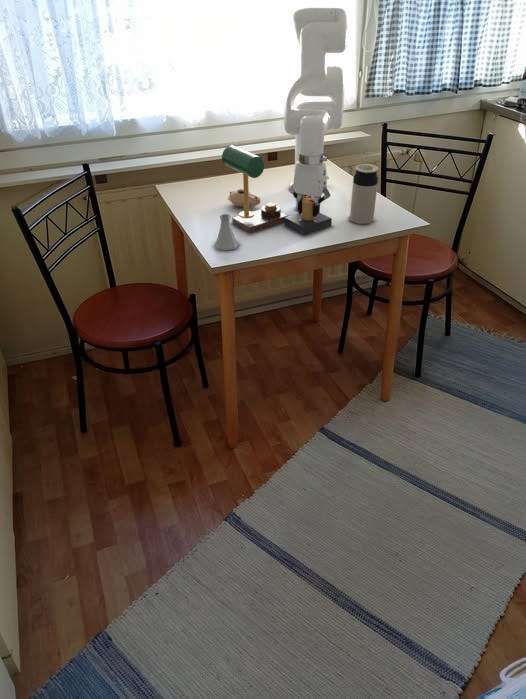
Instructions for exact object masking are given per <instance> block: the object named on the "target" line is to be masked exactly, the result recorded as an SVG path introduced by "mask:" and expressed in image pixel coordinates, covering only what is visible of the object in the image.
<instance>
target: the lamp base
mask: <svg viewBox="0 0 526 699" xmlns="http://www.w3.org/2000/svg"><path fill="white" fill-rule="evenodd" d="M281 210H282V209H281V207H280V205H277V204H276V210H274V211H268V210H266V209H265V205H262V207H260V209H257V210H254V211H252V212H253V213H254V217H252V218H241V217H240V216H239V215H236V216H233V217H232V218H231V221H232V222H231V223H232V225H234V226H236V227H237V228H239V229H241V230H243V231H245V232H246V233H248V234H252V233H256V232H259V231H261V230H265V229H269V228H272V227H275V226H278V225H281V224H285V217H288V216H289V215H288V214H285V213H284V212H282V211H281Z"/></svg>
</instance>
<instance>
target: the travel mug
mask: <svg viewBox="0 0 526 699" xmlns="http://www.w3.org/2000/svg"><path fill="white" fill-rule="evenodd" d="M354 169H355V174H354V175H353V179H352V189H351V190H352V191H351V200H350V212H349V221H351V222H352V223H354V224H357V225H368V224H370V223H372V222H374V219H375V218H374V217H375V209H376V200H377V192H378V183H379V176H378V171H379V167H378V166H377V165H374V164H372V163H371V164H370V163H361V164H357V165H355V167H354Z"/></svg>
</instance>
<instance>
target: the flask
mask: <svg viewBox="0 0 526 699" xmlns="http://www.w3.org/2000/svg"><path fill="white" fill-rule="evenodd" d="M230 218H231V215H230V214H229V213H223V214H220V215H219V219H220V227H219V231H218V234H217V237H216V240H215V243H214V247H215V248H216V249H217V250H218V251H219V250H220V251H221V250H222V251H230V250H235V249H237V247H238V245H239V244H238V242H237V238H236V237H235V235H234V232H233V230H232V226H231V223H230V222H231V221H230Z"/></svg>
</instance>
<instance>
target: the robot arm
mask: <svg viewBox="0 0 526 699" xmlns="http://www.w3.org/2000/svg"><path fill="white" fill-rule="evenodd" d="M291 17H292V18H291V24H292V31H293V35H294V38H295V42H296V44H297V48H298V77H297V78H296V79H295V80H294V81H293V83H292V84H291V85H290V87H289V88H288V90H287V93H286V95H285V99H284V110H283V111H284V114H283V116H284V117H283V127H284V130H285V132H286V134H288V135H291V136H294V137H295V140H294V142H295V143H294V174H293V176H294V177H293V181H292V182H291V183H290V185H289V187H288V191H289V192H290V194H292V196H293V197H294V198H295V202H296V201H297V202H298V210H299V211H297V212H298V213H299V214H301V213H302V200H303V197H304V194H305V195H311V196H312V197H313V199H314V200H315V205H314V206H313V217H316V216H317V215H318V214H319V212H320V213H321V203H323V202H324V201H326V200H327V199H330V198H331V196H332V195H331V193H330V191H329V189H328V180H329V177H330V175H329V174H328V173H327V166H326V162H327V161H328V157H327V156H325V153H324V148H325V134H326V133H327V132H328V131H331V130H333V131H334V130H339V129H340V128H341V126H342V124H343V121H344V107H345V90H346V77H345V76H346V75H345V72H344V69H343V68H341V67H339V66H334V65H333V66H331V65H329V66H328V54H341V53H344V51H346V49H347V45H348V41H349V40H348V37H349V30H348V29H349V28H348V18H347V14H346V11H345V10H344V9H343V8H340V7H303V8H298V9H297V10H295V11H294V12H293V13H292V16H291ZM300 94H301V95H302V96H305V97H324V98H325V97H328V98H330V99H331V100H319V99H318V100H310V99H309V100H301V101H299V102H298V103H296V104H295V106H294V102H295V99H296V98H297V96H299V95H300ZM298 213H297V214H298Z"/></svg>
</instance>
